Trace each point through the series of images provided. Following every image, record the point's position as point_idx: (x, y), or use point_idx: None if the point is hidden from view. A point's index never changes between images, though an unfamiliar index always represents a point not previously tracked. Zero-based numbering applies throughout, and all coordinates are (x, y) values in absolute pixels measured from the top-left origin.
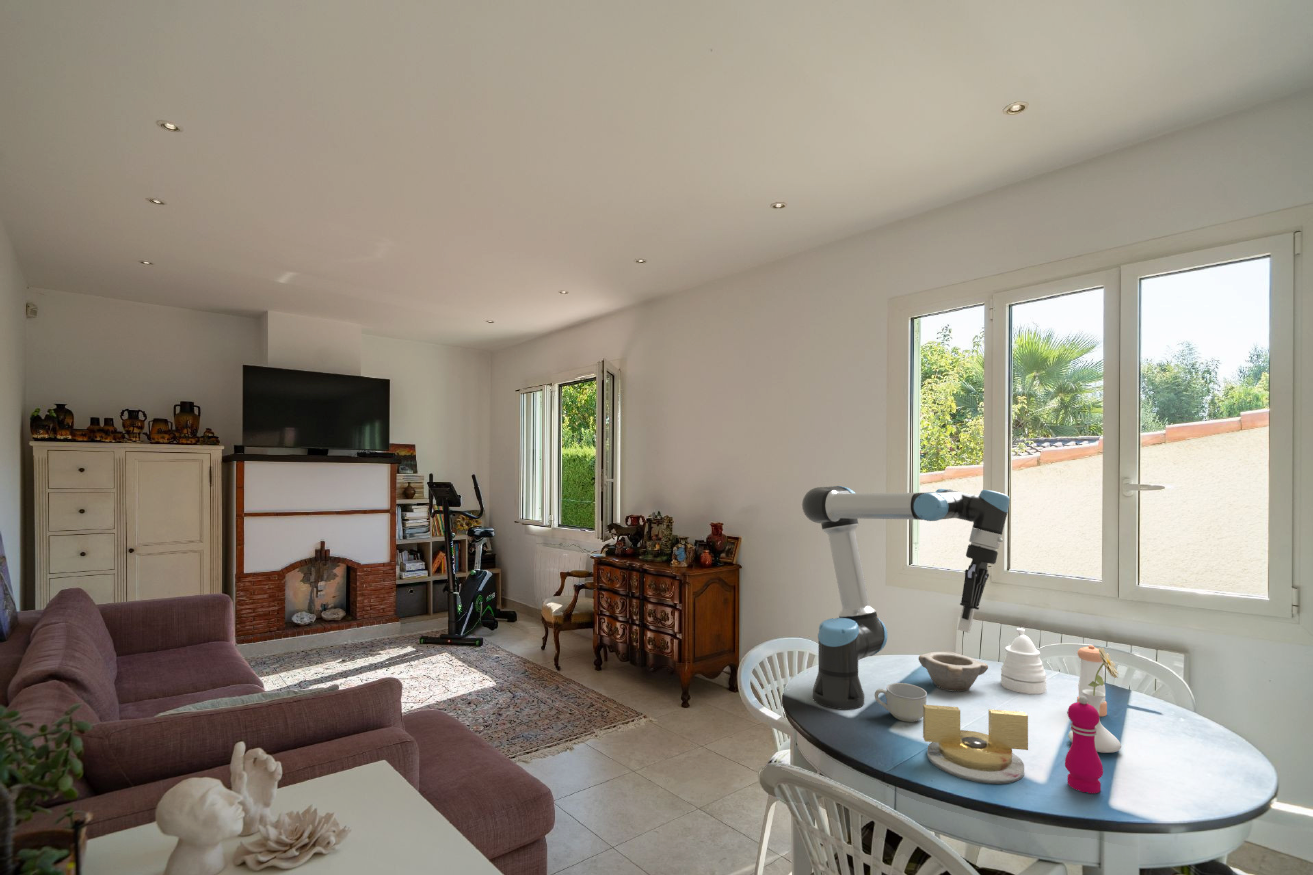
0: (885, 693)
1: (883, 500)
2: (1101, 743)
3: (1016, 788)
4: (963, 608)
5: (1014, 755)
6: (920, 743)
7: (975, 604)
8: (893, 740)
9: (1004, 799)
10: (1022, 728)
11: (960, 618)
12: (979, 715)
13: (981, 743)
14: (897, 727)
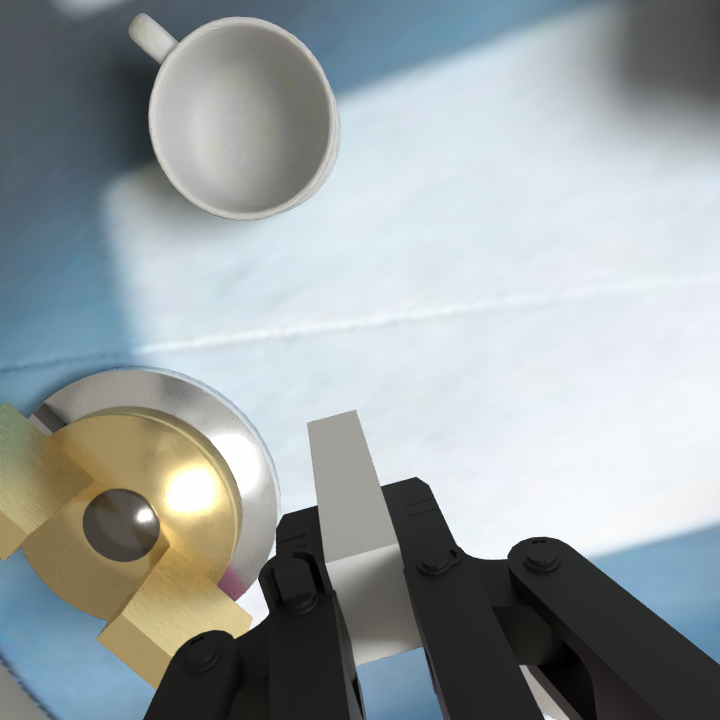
0: (160, 63)
1: None
2: (542, 705)
3: None
4: (326, 552)
5: (255, 568)
6: (115, 323)
7: (436, 691)
8: (51, 256)
9: (29, 643)
10: None
11: (314, 476)
12: (546, 290)
13: (126, 547)
14: (156, 187)
